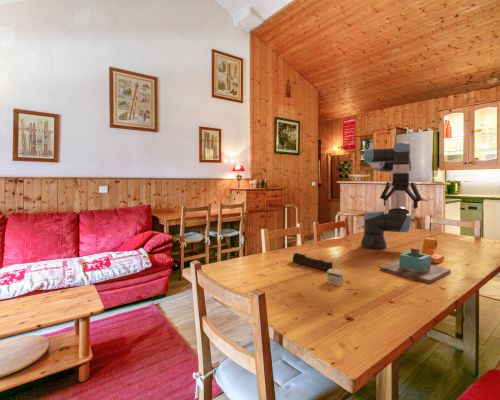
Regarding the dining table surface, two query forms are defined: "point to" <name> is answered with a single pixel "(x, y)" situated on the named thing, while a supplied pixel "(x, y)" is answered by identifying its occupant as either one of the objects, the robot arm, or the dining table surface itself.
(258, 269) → the dining table surface
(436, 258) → the bracket
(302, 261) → the hand tool
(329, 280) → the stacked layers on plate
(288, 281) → the dining table surface
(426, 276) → the post base
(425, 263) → the collar
